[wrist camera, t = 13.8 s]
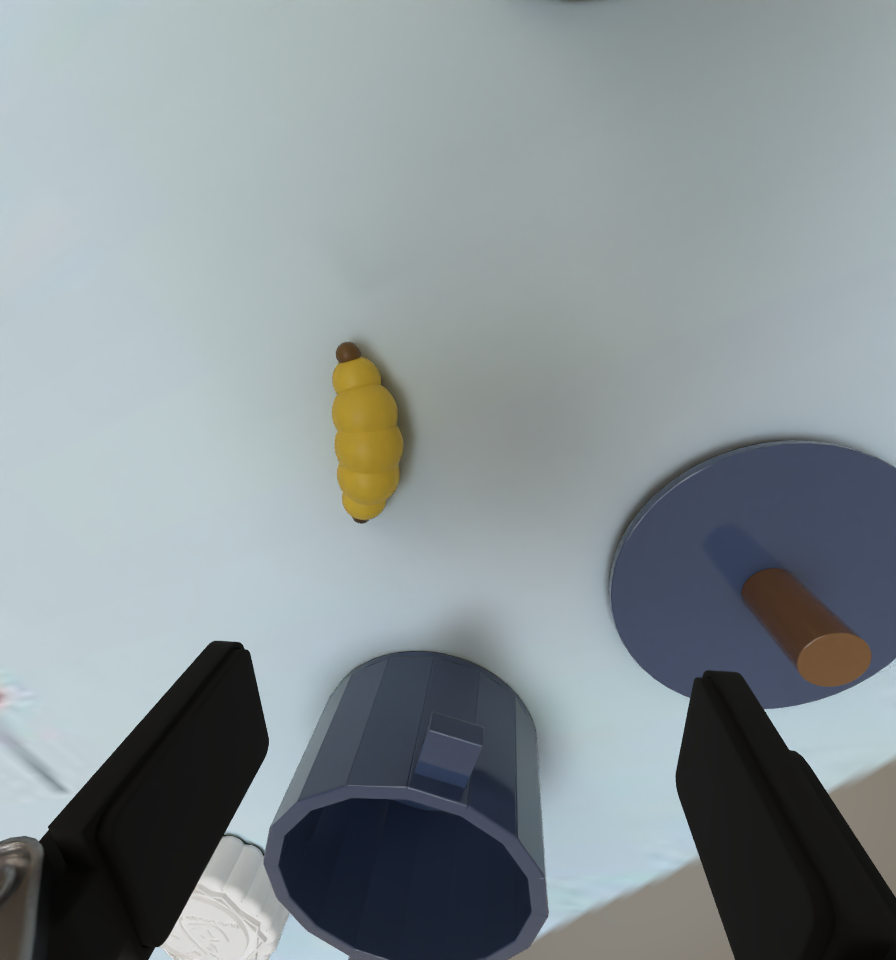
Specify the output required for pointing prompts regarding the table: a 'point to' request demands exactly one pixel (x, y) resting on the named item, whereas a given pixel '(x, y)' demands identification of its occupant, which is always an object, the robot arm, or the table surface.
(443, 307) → the table surface
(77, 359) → the table surface
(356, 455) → the yellow segmented pod
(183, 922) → the mooncake
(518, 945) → the pot
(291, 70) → the table surface
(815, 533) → the lid
